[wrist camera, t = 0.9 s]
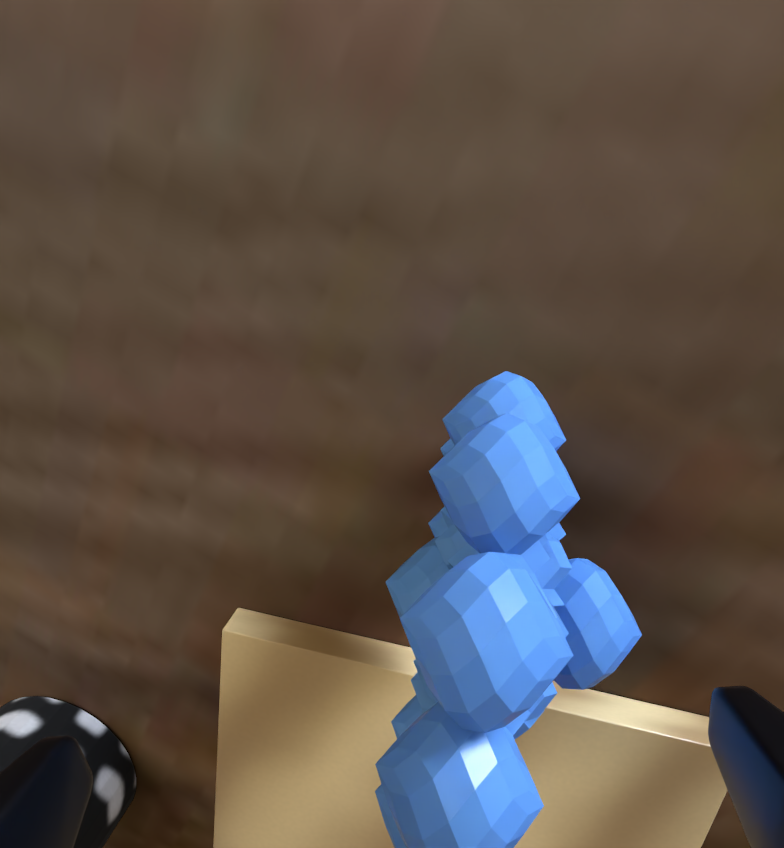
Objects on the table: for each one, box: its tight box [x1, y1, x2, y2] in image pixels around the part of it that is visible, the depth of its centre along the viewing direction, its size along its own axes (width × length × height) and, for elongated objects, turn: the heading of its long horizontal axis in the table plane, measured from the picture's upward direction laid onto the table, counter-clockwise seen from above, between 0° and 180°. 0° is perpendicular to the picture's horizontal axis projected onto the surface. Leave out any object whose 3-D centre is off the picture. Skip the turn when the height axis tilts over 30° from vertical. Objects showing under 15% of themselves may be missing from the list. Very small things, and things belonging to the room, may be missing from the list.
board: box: [213, 608, 728, 848], centre depth 25 cm, size 20×16×2 cm
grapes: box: [375, 371, 642, 848], centre depth 15 cm, size 12×7×12 cm, turn 173°
